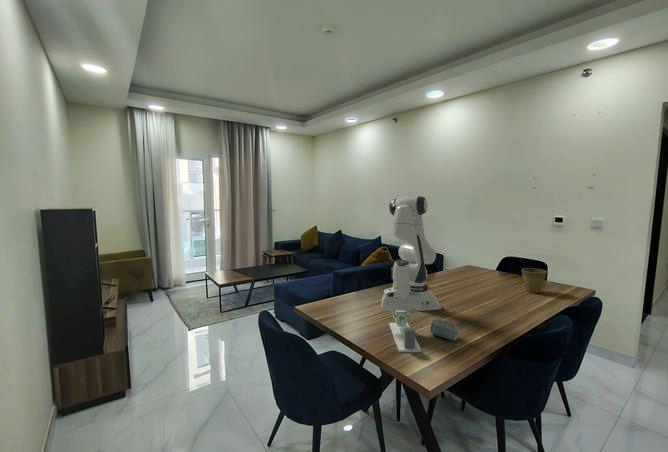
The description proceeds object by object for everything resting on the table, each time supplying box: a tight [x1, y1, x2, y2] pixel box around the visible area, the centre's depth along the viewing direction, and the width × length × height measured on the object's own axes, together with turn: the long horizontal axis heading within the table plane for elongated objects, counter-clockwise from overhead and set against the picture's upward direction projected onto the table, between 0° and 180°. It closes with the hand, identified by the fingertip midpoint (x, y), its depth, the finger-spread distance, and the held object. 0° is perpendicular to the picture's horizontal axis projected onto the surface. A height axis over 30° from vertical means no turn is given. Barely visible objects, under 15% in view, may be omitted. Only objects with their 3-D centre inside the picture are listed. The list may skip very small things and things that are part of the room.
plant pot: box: [521, 267, 547, 294], centre depth 224 cm, size 15×15×16 cm
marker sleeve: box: [394, 310, 408, 324], centre depth 164 cm, size 5×5×5 cm
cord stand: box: [388, 317, 422, 353], centre depth 156 cm, size 10×30×10 cm, turn 179°
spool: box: [430, 319, 460, 342], centre depth 155 cm, size 14×10×10 cm
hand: (400, 317), depth 164 cm, fingers closed on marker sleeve, 5 cm apart
